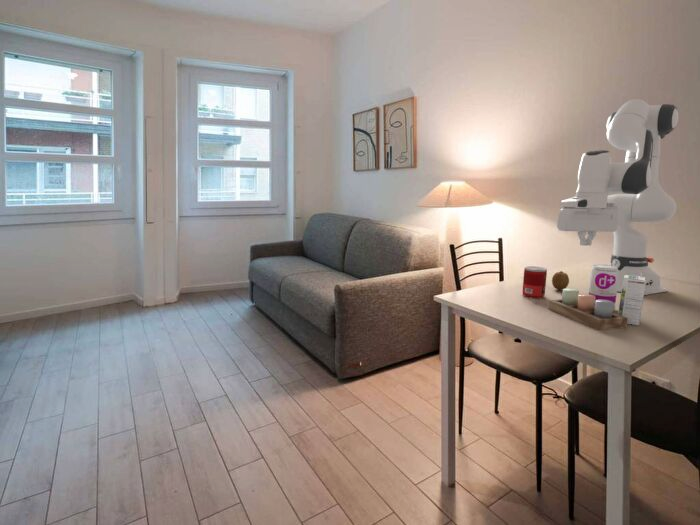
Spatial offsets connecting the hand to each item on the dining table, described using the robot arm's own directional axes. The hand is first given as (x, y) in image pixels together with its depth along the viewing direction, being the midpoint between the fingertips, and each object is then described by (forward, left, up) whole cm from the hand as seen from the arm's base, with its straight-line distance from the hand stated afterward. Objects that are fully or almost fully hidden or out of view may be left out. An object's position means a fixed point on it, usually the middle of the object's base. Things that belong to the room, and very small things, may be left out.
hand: (585, 245), depth 131 cm
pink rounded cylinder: (+1, +4, -21) cm, 21 cm away
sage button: (+1, -3, -21) cm, 21 cm away
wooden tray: (+1, +4, -23) cm, 24 cm away
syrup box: (-9, +11, -23) cm, 27 cm away
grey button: (+1, +11, -21) cm, 23 cm away
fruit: (-16, -28, -23) cm, 40 cm away
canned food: (0, -23, -23) cm, 33 cm away
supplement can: (-12, -3, -23) cm, 27 cm away
